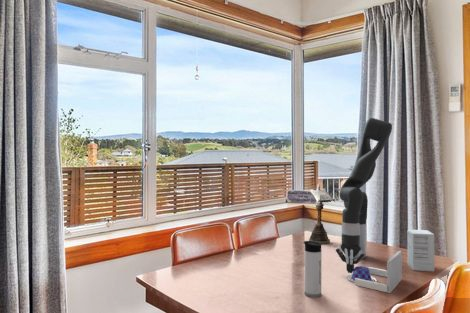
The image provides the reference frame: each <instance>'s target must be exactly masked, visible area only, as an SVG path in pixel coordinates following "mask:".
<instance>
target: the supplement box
mask: <svg viewBox="0 0 470 313" xmlns="http://www.w3.org/2000/svg"><path fill="white" fill-rule="evenodd" d="M406 264H407V265H408V266H409V267H410V269H411V270H412V271H422V272H435V234H434V233H433V232H431V231H430V230H427V229H407V262H406Z"/></svg>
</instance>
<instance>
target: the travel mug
mask: <svg viewBox="0 0 470 313" xmlns="http://www.w3.org/2000/svg"><path fill="white" fill-rule="evenodd" d="M303 244H304V295H305V296H307V297H311V298H319V297H321V296H322V244H320V243H318V242H313V241H309V240H305V241H303Z"/></svg>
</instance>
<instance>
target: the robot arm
mask: <svg viewBox="0 0 470 313" xmlns="http://www.w3.org/2000/svg"><path fill="white" fill-rule="evenodd" d="M392 131H393V124H392V123H391V122H388V121H384V120H381V119H378V118H374V117H370V118H368V119H367V120H366V122H365V125H364V127H363V132H362V136H361V141H360V146H359V151H358V153H357V157H356V160H355V163H354V165H353V168H352V170H351V173H350V175H349V176H348V177H347V179H346V180H345V181H344V183H343V184H342V186H341V187H340V190H339V199H340V200H341V201H343V206H344V208H343V210H342V212H341V213H342V214H341V216H342V218H341V219H342V220H341V221H342V222H341V244H340V247H338V248H336V249H335V253H337V255H338V257H339V258H340V260H341V261H342V262H344V263H346V271H347V273H348V274H353V271H354V268H355V265H358V264H359V263H360V261H362V259H366V257H367V219H368V195H367V193H366V192H365V191H362V189H361V188H362V187H363V186H364V185H366V183H368V182H369V181H370V180H371V179H372V177H373V176H374V172H375V170H376V166H377V162H376V161H377V159H378V158H379V156H380V154H381V153H382V151H383V149H384V148H385V146H386V144H387V142H388V141H389V138H390V136H391V133H392ZM371 140H372V141H376V142H377V143H376V145H375V146H374V147H373V148H372V147H371Z"/></svg>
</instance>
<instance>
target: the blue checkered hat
mask: <svg viewBox="0 0 470 313" xmlns="http://www.w3.org/2000/svg"><path fill="white" fill-rule="evenodd" d="M355 278H359V279H363V280H368V281H372V282H377V281H378V280H377V278H375V277H374V276H372V275H371V274H370V272H369V269H368V267H366V266H360V265H357V266H354V271H353V272H352V273H349V274H348V275H347V276H346V279H347V280H349V281H350V282H353V283H355ZM373 279H374V280H375V281H374V280H373ZM377 283H378V282H377Z"/></svg>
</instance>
